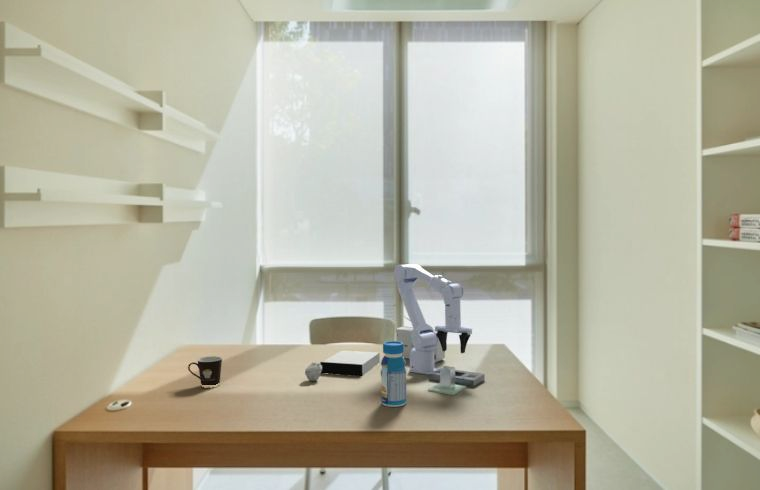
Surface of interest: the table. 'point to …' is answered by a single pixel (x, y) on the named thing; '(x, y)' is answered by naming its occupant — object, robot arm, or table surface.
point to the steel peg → (447, 377)
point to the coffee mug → (208, 370)
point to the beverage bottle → (393, 375)
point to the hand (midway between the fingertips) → (453, 351)
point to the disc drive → (350, 363)
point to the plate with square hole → (460, 377)
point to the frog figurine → (313, 371)
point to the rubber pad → (447, 391)
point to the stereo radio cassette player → (406, 339)
